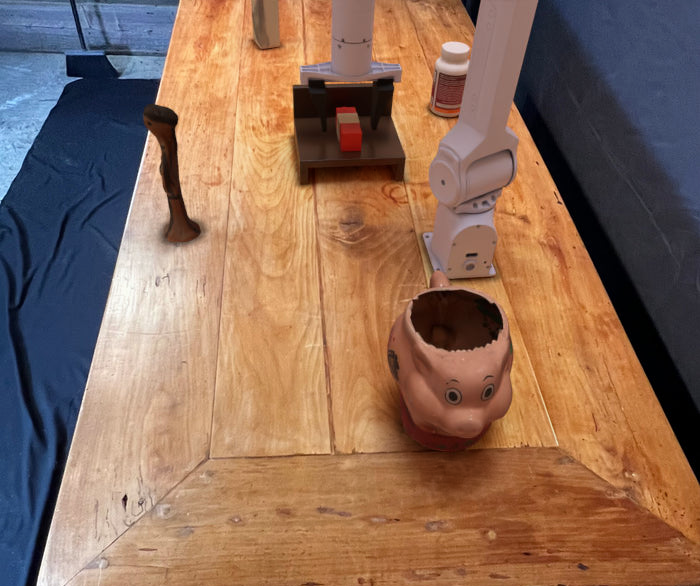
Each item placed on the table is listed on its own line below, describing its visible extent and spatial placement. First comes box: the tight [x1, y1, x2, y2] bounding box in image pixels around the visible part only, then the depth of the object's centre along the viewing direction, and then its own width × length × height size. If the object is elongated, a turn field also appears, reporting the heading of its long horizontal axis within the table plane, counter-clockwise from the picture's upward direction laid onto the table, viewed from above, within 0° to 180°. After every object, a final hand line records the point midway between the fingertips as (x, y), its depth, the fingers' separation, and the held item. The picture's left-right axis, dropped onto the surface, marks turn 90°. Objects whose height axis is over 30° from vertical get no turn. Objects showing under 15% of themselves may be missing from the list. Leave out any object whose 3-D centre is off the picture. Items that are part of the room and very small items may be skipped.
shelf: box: [291, 82, 407, 185], centre depth 97 cm, size 14×16×9 cm
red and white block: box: [336, 107, 362, 152], centre depth 96 cm, size 9×3×3 cm, turn 7°
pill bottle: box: [429, 41, 470, 118], centre depth 109 cm, size 6×6×11 cm
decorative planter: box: [386, 270, 514, 452], centre depth 63 cm, size 20×12×14 cm, turn 10°
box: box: [250, 0, 281, 50], centre depth 125 cm, size 5×4×13 cm
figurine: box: [142, 102, 202, 243], centre depth 80 cm, size 7×5×18 cm
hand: (348, 127), depth 96 cm, fingers open, 7 cm apart
